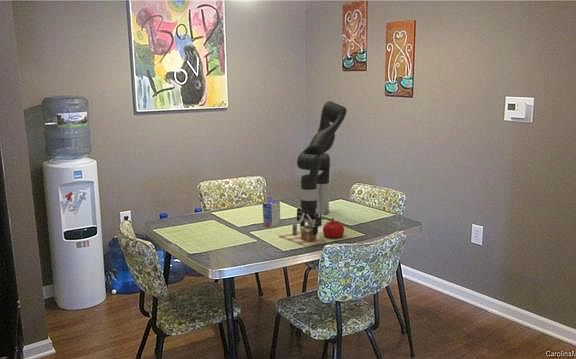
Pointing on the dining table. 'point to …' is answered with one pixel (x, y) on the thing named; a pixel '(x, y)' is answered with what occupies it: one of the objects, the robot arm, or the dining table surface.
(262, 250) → the dining table surface
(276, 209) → the ink cartridge box
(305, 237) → the sleeve
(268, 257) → the dining table surface
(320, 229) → the mat
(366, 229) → the dining table surface
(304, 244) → the pin board
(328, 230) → the pomegranate
